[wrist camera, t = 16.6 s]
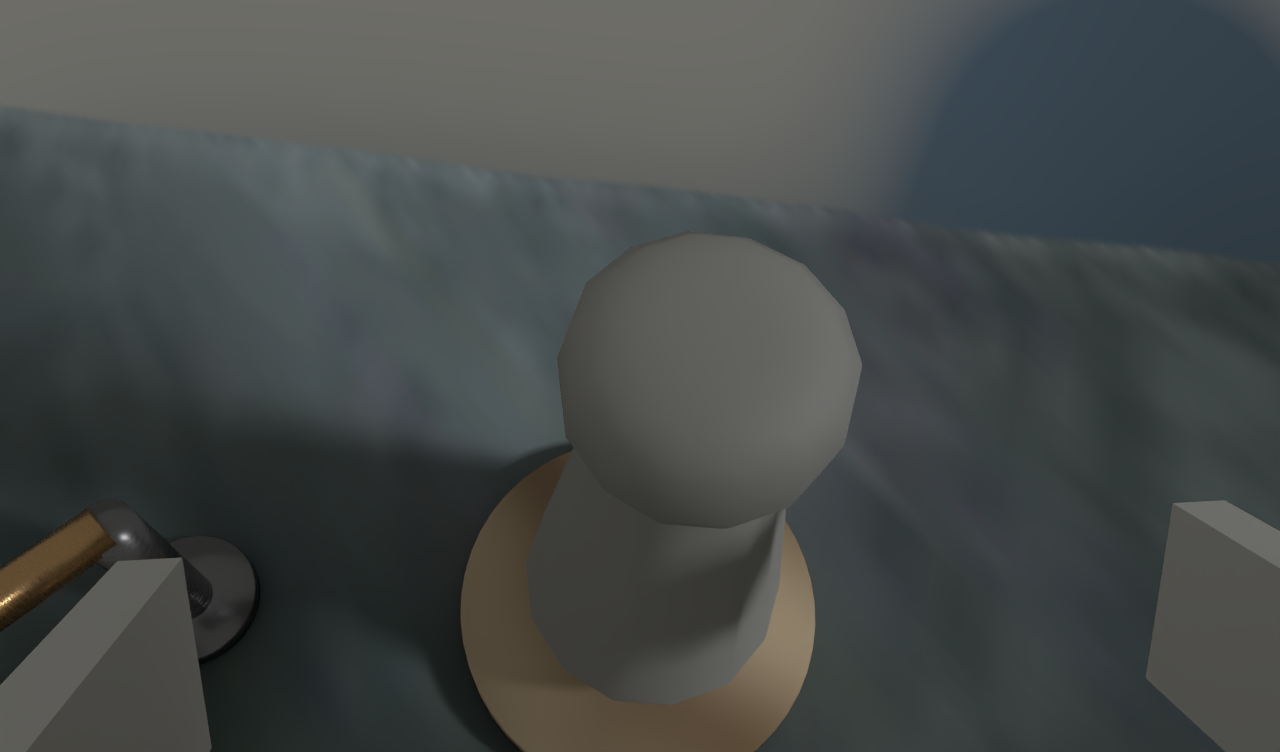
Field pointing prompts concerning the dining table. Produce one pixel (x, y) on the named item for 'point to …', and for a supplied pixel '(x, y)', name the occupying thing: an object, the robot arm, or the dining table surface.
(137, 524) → the rail
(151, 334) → the dining table surface
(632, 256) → the salt shaker
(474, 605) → the coaster
